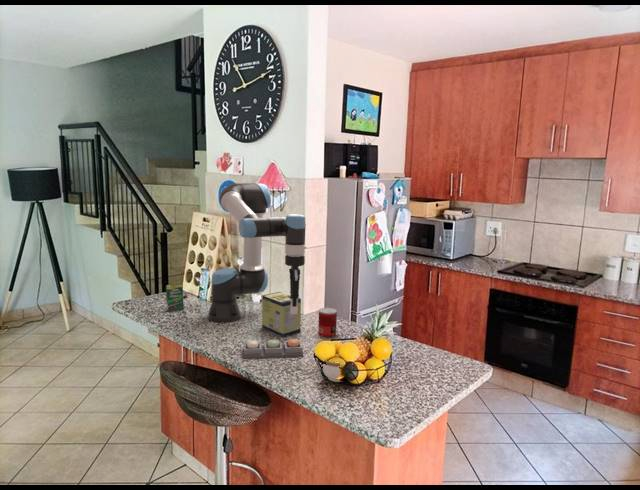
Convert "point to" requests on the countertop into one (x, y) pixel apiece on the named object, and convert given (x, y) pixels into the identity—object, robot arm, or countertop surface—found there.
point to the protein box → (280, 314)
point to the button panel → (273, 351)
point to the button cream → (252, 344)
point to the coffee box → (174, 297)
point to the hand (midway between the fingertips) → (293, 313)
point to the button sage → (273, 344)
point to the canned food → (327, 322)
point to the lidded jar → (332, 370)
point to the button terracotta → (293, 343)
